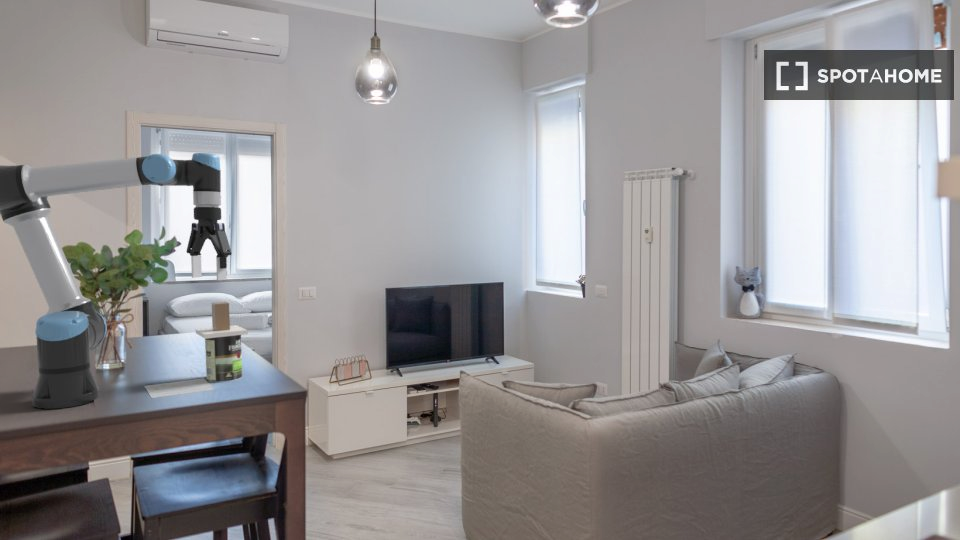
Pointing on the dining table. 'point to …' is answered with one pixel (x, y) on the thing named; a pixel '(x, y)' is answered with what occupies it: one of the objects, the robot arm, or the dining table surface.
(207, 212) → the robot arm
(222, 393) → the dining table surface
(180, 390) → the mat
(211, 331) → the square plate with block
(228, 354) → the coffee can
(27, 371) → the dining table surface
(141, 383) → the dining table surface
